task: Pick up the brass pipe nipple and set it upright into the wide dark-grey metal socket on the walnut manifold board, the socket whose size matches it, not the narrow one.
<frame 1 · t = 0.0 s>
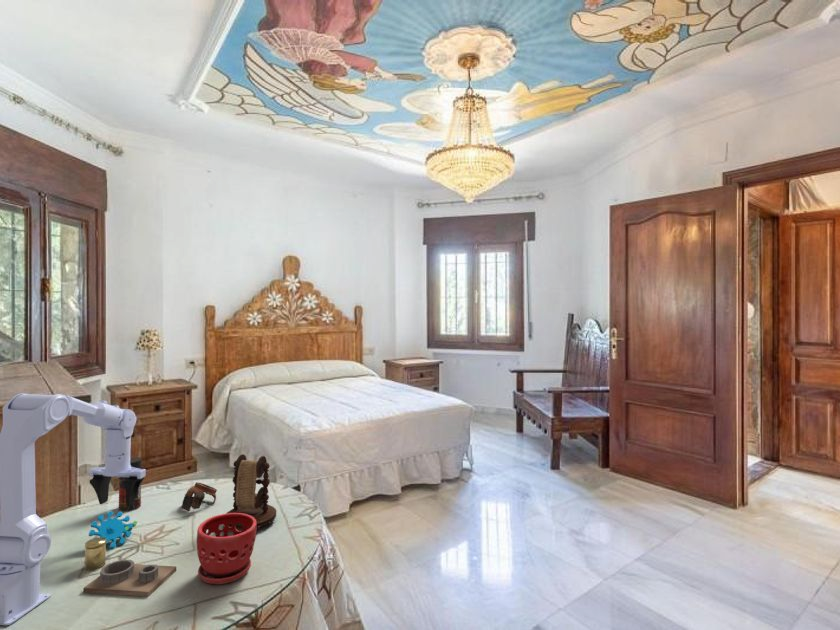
hand: (116, 503, 121), 10 cm above the table, tool pointing down, fingers open, 7 cm apart
deodorant: (129, 508, 142), on the table
plant pot: (226, 574, 107), on the table
gear: (113, 543, 120), on the table
manifold board: (131, 581, 103), on the table
brass nipple: (95, 566, 109), on the table
brown leather bracelet: (198, 507, 144), on the table
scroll: (250, 523, 133), on the table
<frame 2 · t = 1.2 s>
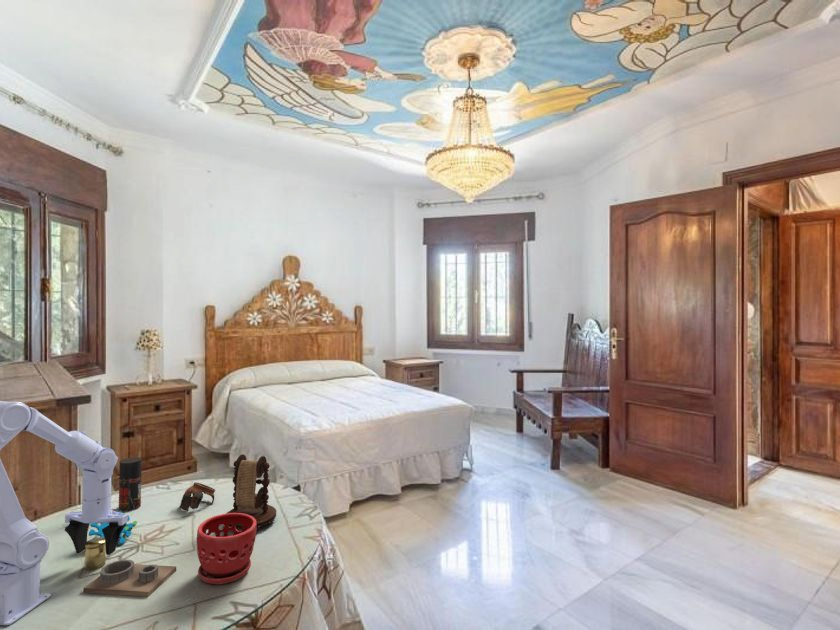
hand: (96, 552, 109), 3 cm above the table, tool pointing down, fingers open, 7 cm apart
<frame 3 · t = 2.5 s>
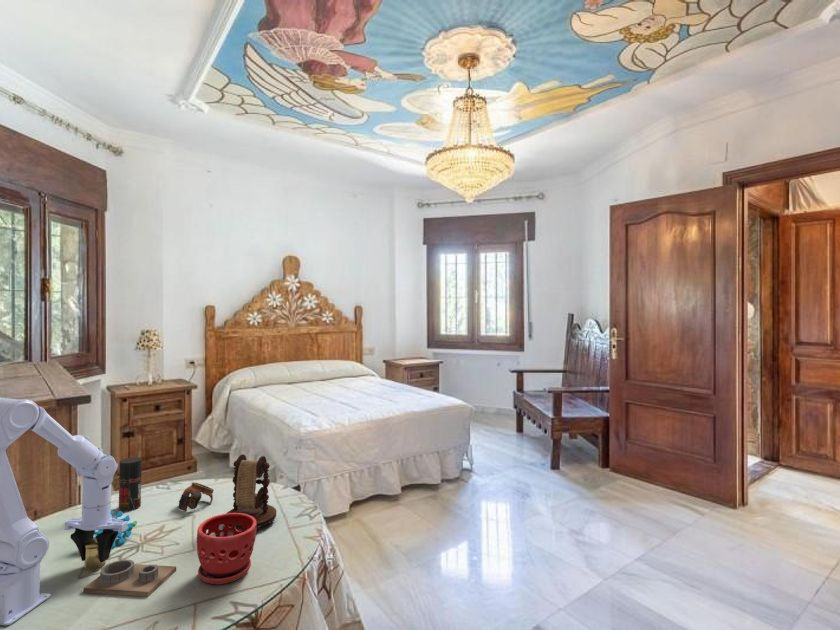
hand: (95, 559, 109), 2 cm above the table, tool pointing down, fingers closed on brass nipple, 4 cm apart
brass nipple: (95, 566, 109), on the table, touching gripper
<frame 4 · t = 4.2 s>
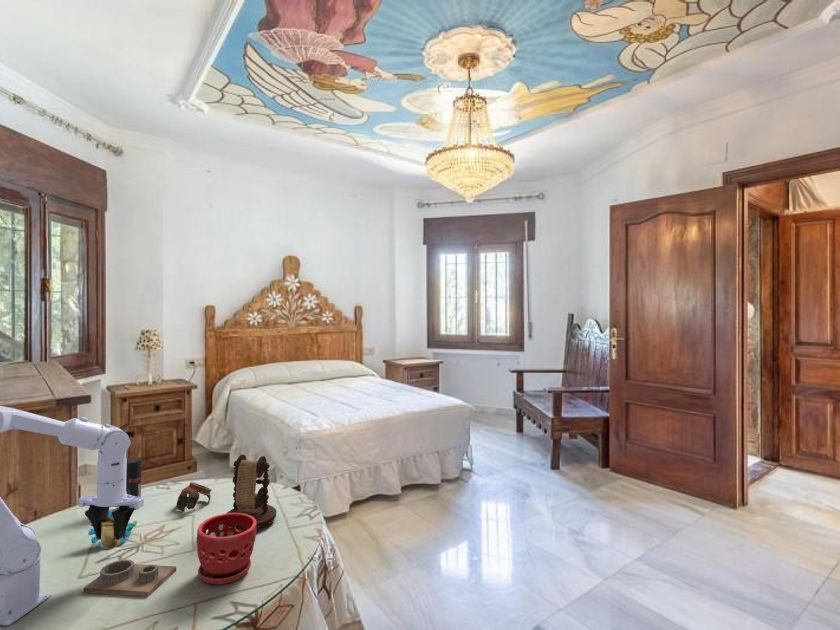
hand: (110, 537, 106), 9 cm above the table, tool pointing down, fingers closed on brass nipple, 4 cm apart
brass nipple: (110, 544, 106), point 7 cm above the table, touching gripper
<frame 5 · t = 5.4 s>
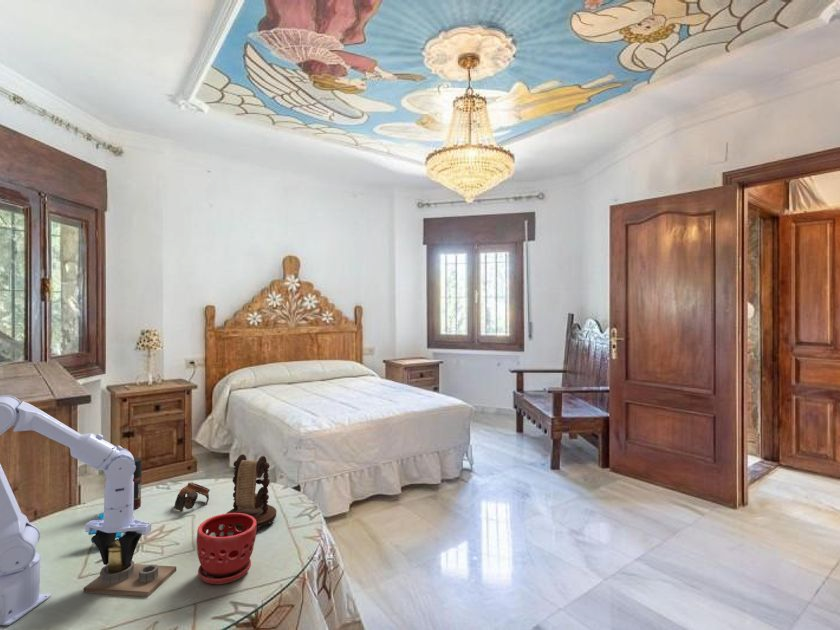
hand: (117, 563, 104), 4 cm above the table, tool pointing down, fingers closed on brass nipple, 4 cm apart
brass nipple: (118, 570, 104), point 2 cm above the table, touching gripper
when the fingers open (4 cm above the table, at t = 6.2 s): brass nipple drops 1 cm, resting on manifold board.
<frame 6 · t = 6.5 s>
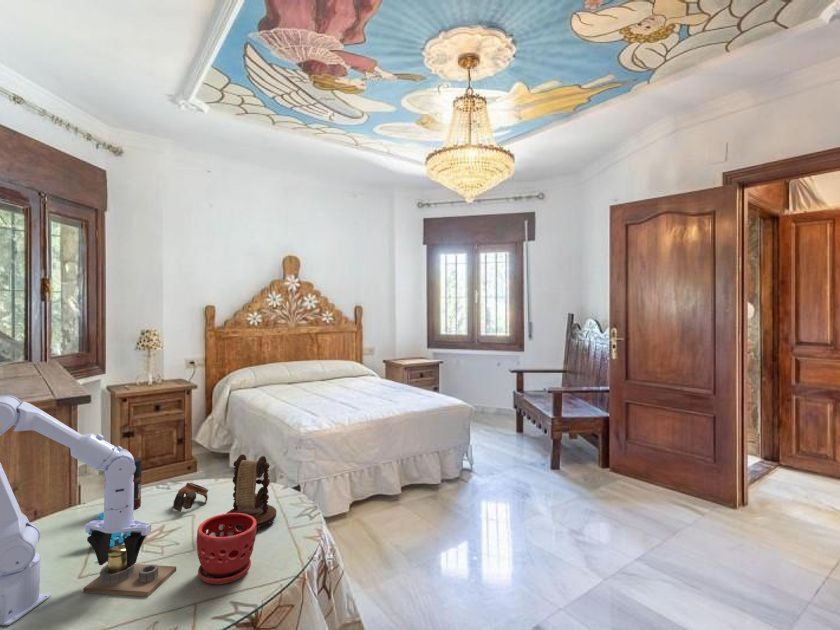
hand: (117, 563, 104), 4 cm above the table, tool pointing down, fingers open, 6 cm apart
brass nipple: (117, 575, 104), point 1 cm above the table, touching manifold board
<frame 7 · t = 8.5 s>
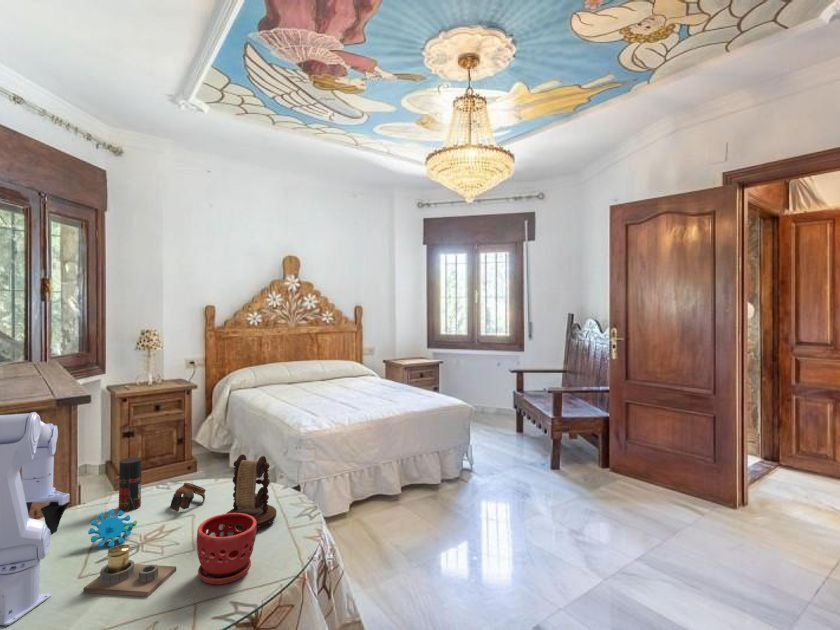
hand: (36, 532, 106), 9 cm above the table, tool pointing down, fingers open, 7 cm apart
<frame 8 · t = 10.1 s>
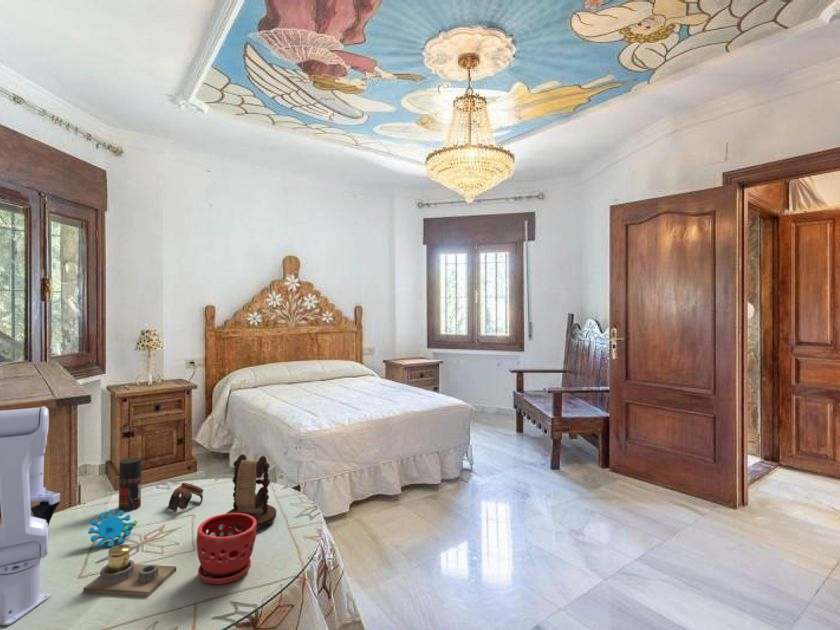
hand: (26, 532, 106), 9 cm above the table, tool pointing down, fingers open, 7 cm apart
at the end: brass nipple 0.2 cm from the target spot on the manifold board, point 1.1 cm above the manifold board's base; brass nipple tilted 2°; the gripper is holding nothing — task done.
